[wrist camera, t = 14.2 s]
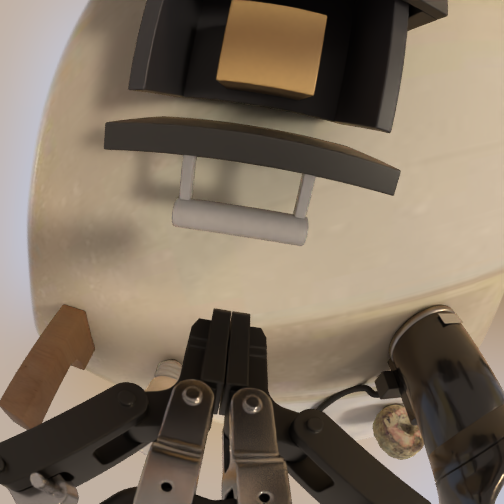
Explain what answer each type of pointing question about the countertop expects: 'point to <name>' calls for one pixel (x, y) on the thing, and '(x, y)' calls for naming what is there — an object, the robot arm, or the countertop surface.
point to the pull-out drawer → (263, 139)
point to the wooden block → (48, 367)
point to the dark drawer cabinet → (425, 12)
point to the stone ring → (397, 433)
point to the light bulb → (163, 382)
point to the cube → (271, 49)
